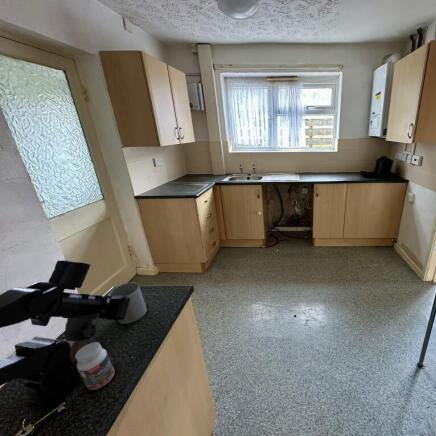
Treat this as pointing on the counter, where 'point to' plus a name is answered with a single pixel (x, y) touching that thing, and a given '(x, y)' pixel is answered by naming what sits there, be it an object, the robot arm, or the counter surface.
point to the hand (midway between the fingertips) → (118, 307)
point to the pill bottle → (94, 365)
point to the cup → (131, 301)
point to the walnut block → (74, 349)
